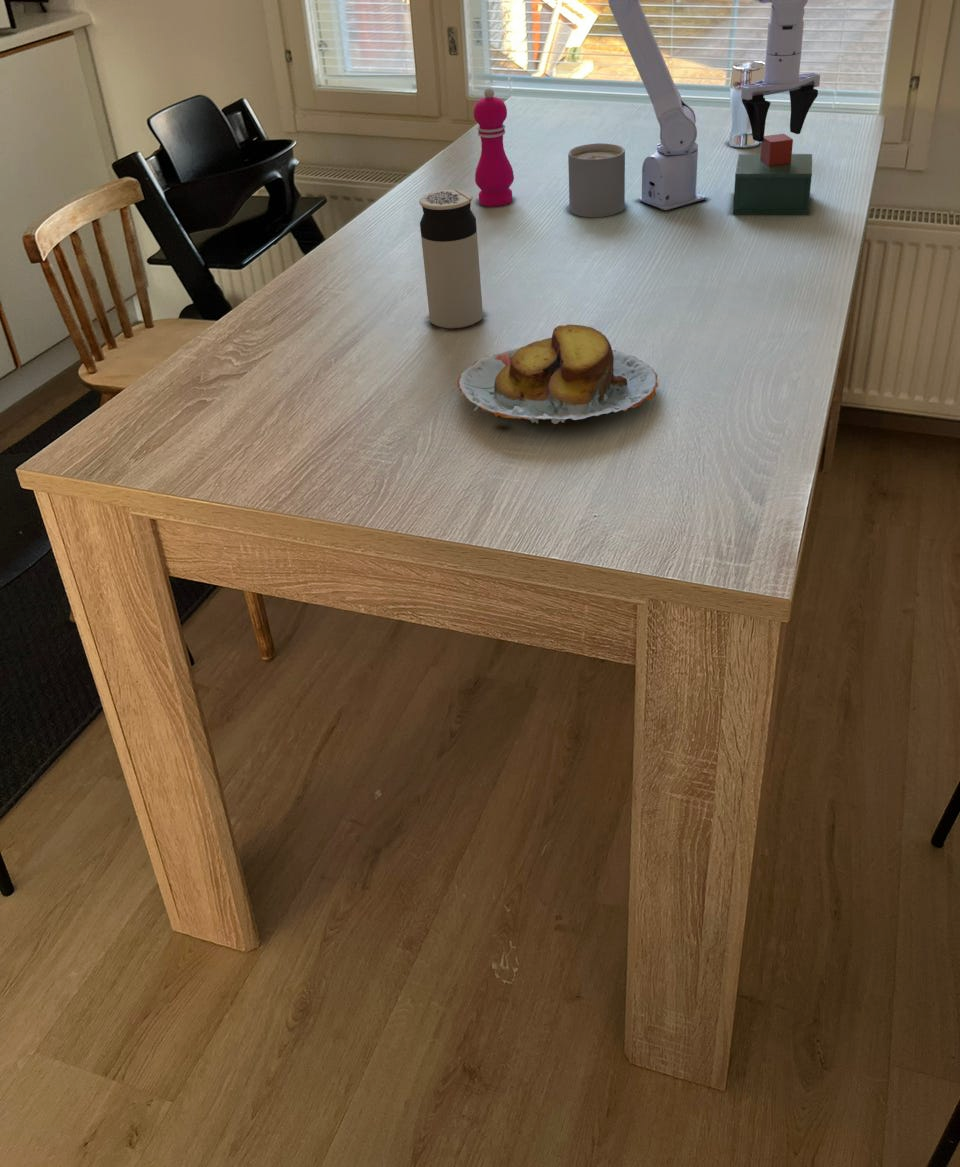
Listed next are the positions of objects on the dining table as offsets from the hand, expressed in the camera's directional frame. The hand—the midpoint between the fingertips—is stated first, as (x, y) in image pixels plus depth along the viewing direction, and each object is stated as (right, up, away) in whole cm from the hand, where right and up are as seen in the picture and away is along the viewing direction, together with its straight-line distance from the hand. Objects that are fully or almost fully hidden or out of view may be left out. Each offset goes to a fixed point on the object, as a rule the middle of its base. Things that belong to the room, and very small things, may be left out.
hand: (776, 136), depth 196 cm
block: (0, -5, -1) cm, 5 cm away
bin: (0, -11, +3) cm, 11 cm away
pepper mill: (-49, -6, +15) cm, 51 cm away
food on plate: (-42, -54, -50) cm, 85 cm away
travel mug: (-55, -39, -28) cm, 73 cm away
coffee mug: (-30, -9, +9) cm, 33 cm away
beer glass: (+2, +12, +34) cm, 36 cm away
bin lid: (-1, -6, -1) cm, 6 cm away
